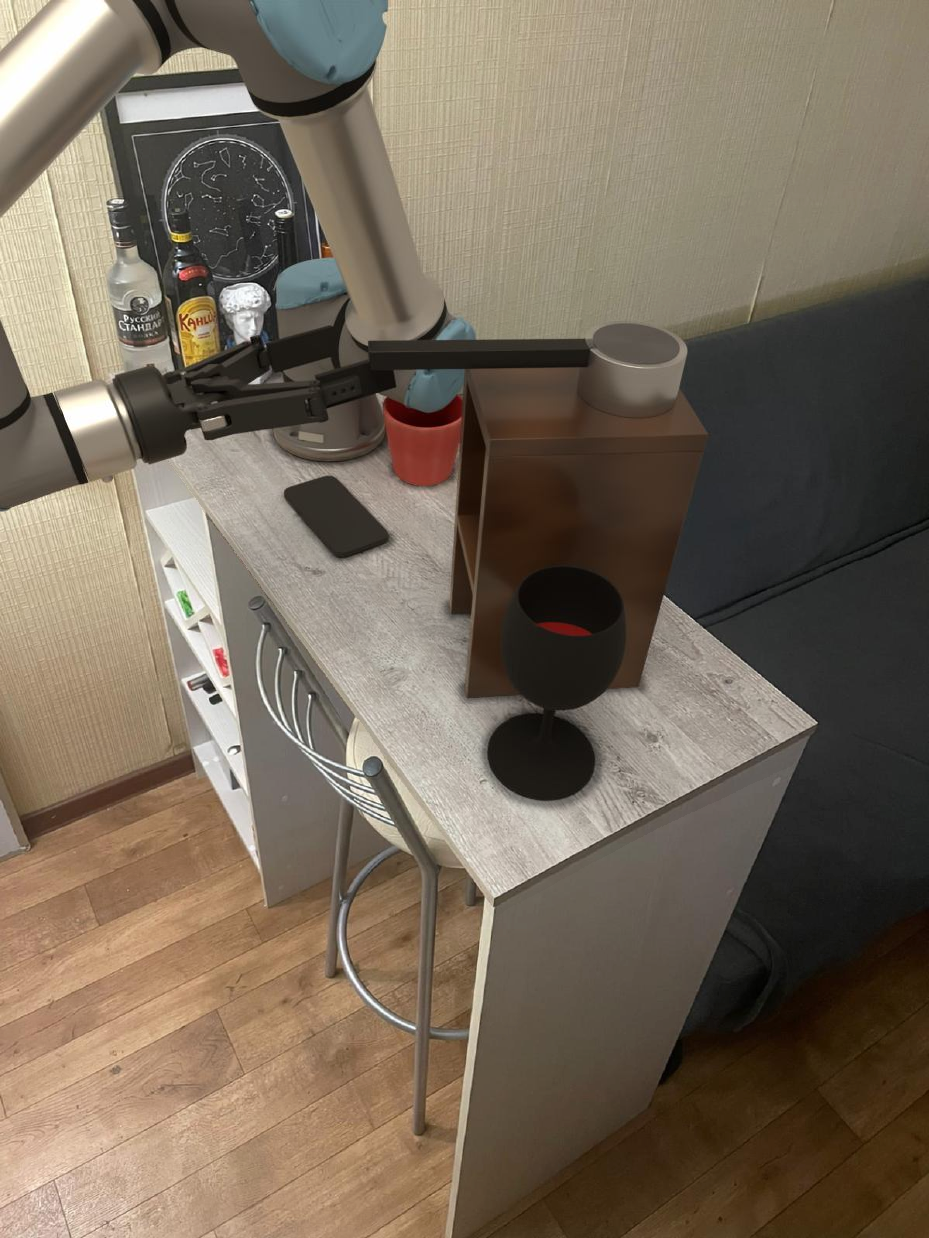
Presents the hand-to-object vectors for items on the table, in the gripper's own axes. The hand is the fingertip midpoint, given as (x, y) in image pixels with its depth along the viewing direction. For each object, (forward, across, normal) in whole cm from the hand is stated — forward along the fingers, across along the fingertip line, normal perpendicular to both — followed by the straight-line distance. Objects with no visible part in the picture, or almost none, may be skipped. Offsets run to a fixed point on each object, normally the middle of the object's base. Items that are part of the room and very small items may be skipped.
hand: (361, 354), depth 82 cm
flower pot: (+15, -27, -25) cm, 40 cm away
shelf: (+11, +7, -33) cm, 36 cm away
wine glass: (+3, +19, -36) cm, 41 cm away
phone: (0, -22, -25) cm, 33 cm away
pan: (+9, +12, -3) cm, 16 cm away
